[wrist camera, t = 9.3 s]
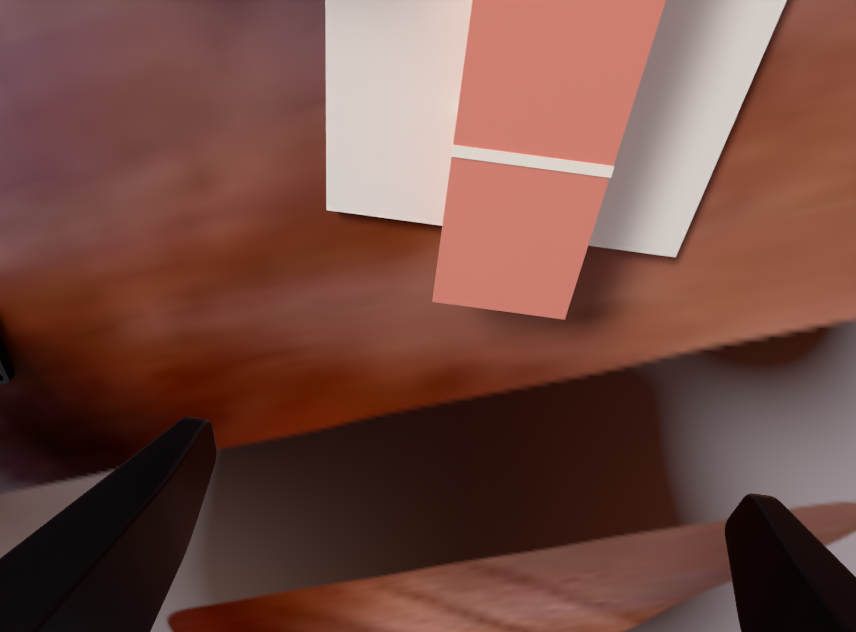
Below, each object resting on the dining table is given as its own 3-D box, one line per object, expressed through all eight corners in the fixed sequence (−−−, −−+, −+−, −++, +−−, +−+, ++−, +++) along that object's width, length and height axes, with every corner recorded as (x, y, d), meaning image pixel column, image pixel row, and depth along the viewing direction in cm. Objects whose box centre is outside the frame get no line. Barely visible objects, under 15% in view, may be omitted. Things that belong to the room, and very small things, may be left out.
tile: (671, 248, 20) (675, 257, 19) (330, 202, 20) (326, 209, 19) (868, -219, 13) (883, -223, 12) (330, -289, 13) (324, -296, 12)
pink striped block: (555, 258, 20) (565, 320, 17) (439, 243, 20) (431, 302, 17) (722, -339, 11) (799, -413, 9) (521, -365, 11) (531, -448, 9)
